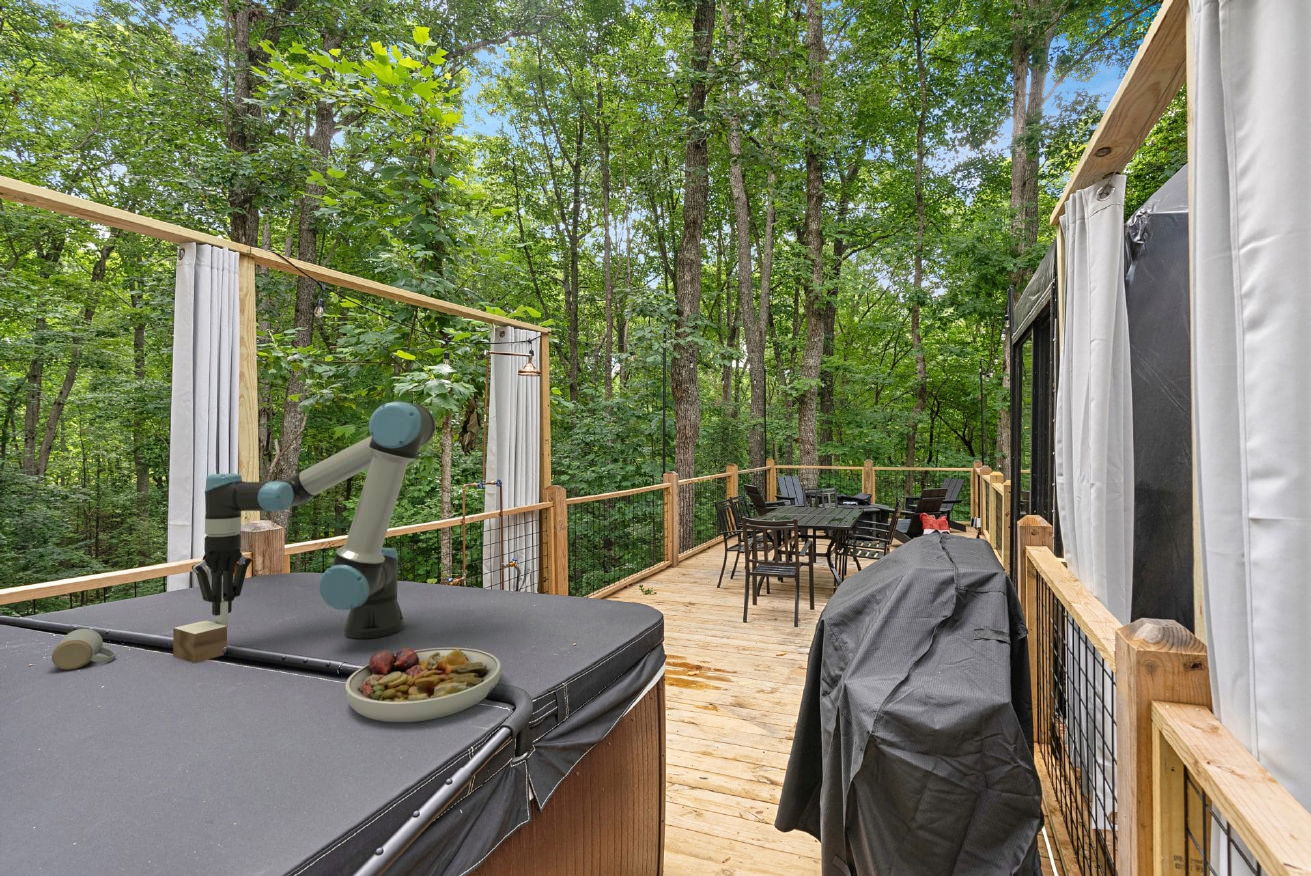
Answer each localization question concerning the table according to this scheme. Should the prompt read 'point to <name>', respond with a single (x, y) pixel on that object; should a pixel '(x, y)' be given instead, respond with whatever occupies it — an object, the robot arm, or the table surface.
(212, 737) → the table surface
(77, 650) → the ceramic mug
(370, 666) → the bowl
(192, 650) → the walnut block
